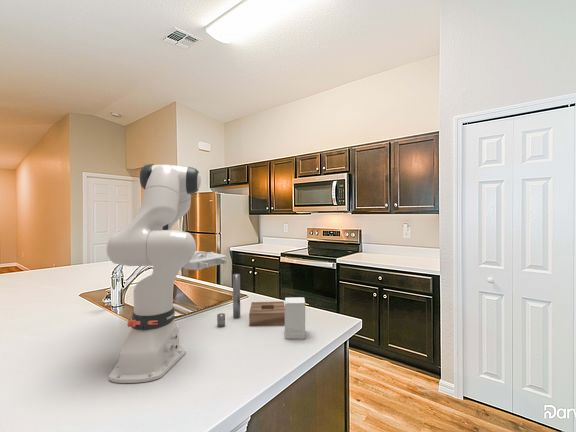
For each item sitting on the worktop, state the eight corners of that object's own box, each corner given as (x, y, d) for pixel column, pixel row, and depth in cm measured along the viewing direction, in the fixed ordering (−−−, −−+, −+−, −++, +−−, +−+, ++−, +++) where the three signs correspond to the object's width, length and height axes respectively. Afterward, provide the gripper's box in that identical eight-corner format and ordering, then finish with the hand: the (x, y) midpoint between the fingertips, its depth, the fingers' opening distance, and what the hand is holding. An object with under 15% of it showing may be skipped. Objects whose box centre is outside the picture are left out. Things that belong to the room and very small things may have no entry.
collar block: (285, 325, 116) (285, 312, 116) (249, 326, 116) (249, 313, 116) (283, 312, 130) (283, 301, 130) (251, 313, 130) (251, 302, 130)
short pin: (224, 327, 115) (224, 315, 115) (216, 327, 114) (216, 316, 114) (225, 324, 118) (225, 313, 118) (218, 324, 117) (217, 313, 117)
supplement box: (305, 339, 104) (305, 303, 104) (284, 339, 104) (284, 303, 104) (304, 330, 111) (304, 296, 111) (285, 330, 111) (284, 296, 111)
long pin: (240, 318, 124) (239, 275, 124) (232, 318, 124) (232, 275, 123) (240, 315, 127) (240, 273, 126) (233, 316, 127) (233, 273, 126)
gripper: (178, 257, 132) (197, 260, 124) (214, 251, 149) (233, 253, 140) (178, 271, 132) (197, 275, 124) (214, 263, 149) (234, 266, 140)
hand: (217, 263), depth 132 cm, fingers open, 8 cm apart
